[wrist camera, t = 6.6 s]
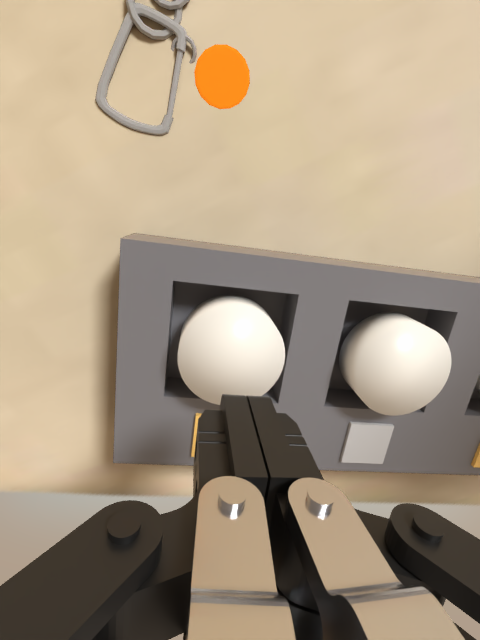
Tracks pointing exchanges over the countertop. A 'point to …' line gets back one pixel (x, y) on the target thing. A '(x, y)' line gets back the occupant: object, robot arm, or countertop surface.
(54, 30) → the countertop surface
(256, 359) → the button front
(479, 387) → the button back
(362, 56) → the countertop surface
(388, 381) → the button middle
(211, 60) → the key chain
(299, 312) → the panel
